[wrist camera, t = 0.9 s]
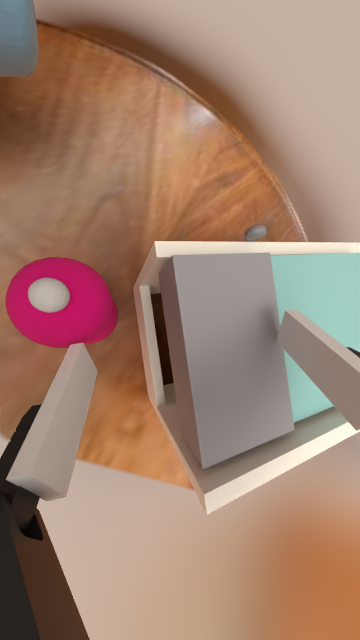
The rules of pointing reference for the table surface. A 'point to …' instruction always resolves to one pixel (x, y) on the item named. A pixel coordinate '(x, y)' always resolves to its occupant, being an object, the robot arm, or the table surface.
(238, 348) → the trapdoor
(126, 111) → the table surface
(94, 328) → the pepper mill
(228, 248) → the frame
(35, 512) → the robot arm
